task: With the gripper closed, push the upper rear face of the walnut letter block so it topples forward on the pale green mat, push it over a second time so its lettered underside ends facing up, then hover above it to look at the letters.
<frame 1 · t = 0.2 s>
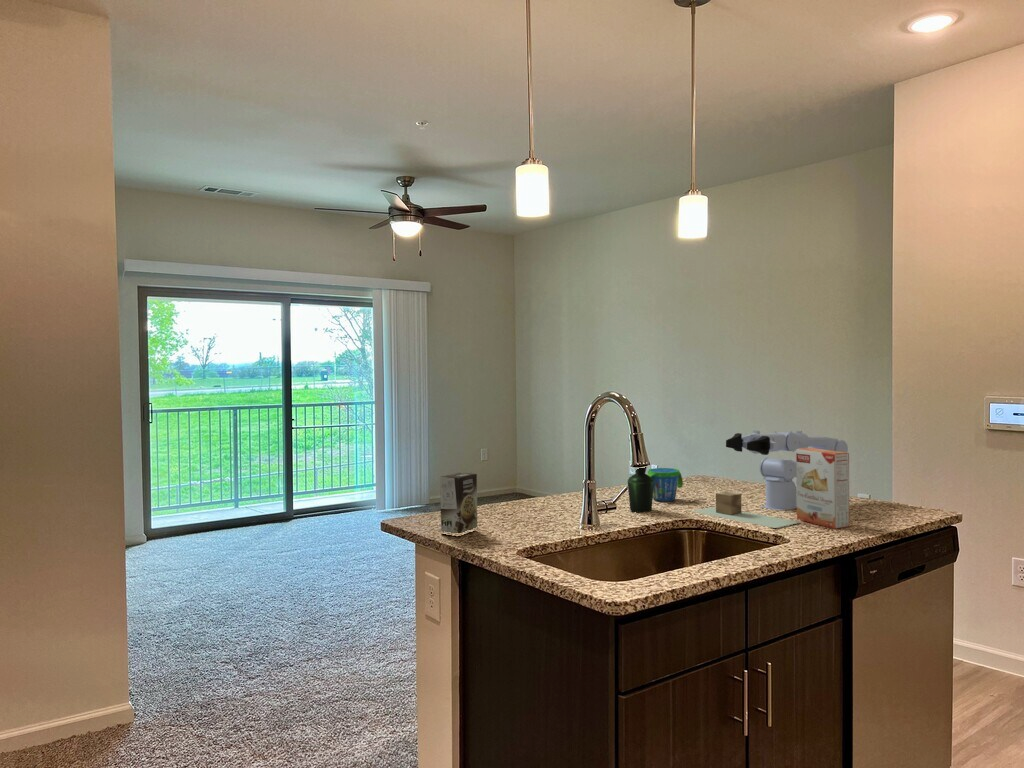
hand: (737, 444, 217), 21 cm above the worktop, tool horizontal, fingers open, 7 cm apart
coffee box: (459, 533, 200), on the worktop
potion bottle: (640, 511, 227), on the worktop
cracker box: (822, 524, 205), on the worktop
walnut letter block: (728, 512, 220), resting on pale green mat
snack cup: (663, 500, 246), on the worktop
pale green mat: (743, 517, 215), on the worktop
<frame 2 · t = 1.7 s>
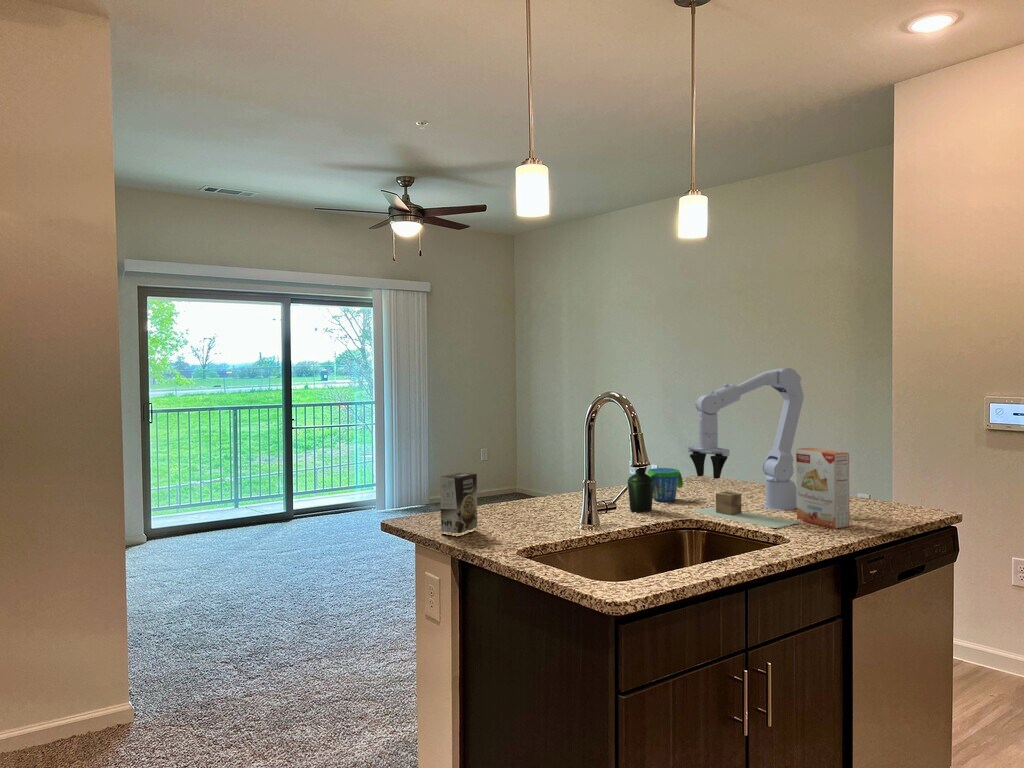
hand: (708, 477, 226), 10 cm above the worktop, tool pointing down, fingers open, 6 cm apart
nothing on the worktop moved.
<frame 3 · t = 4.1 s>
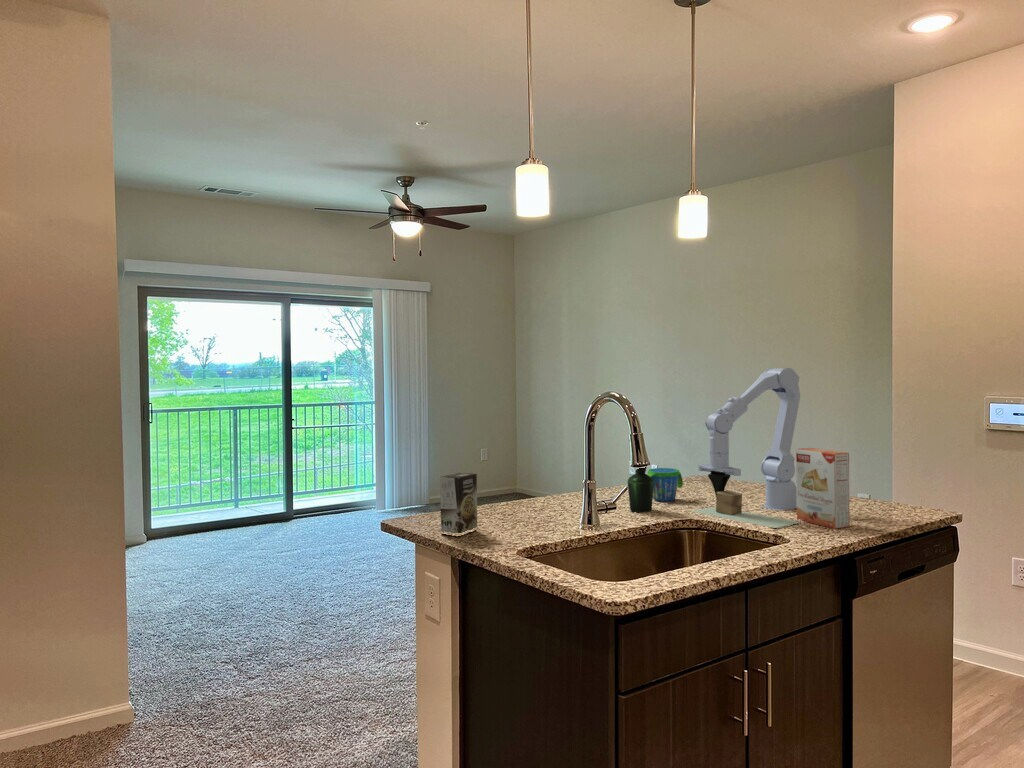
hand: (719, 496, 223), 5 cm above the worktop, tool pointing down, fingers closed
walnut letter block: (728, 512, 220), point 1 cm above the worktop, touching gripper, pale green mat
everything else where it was.
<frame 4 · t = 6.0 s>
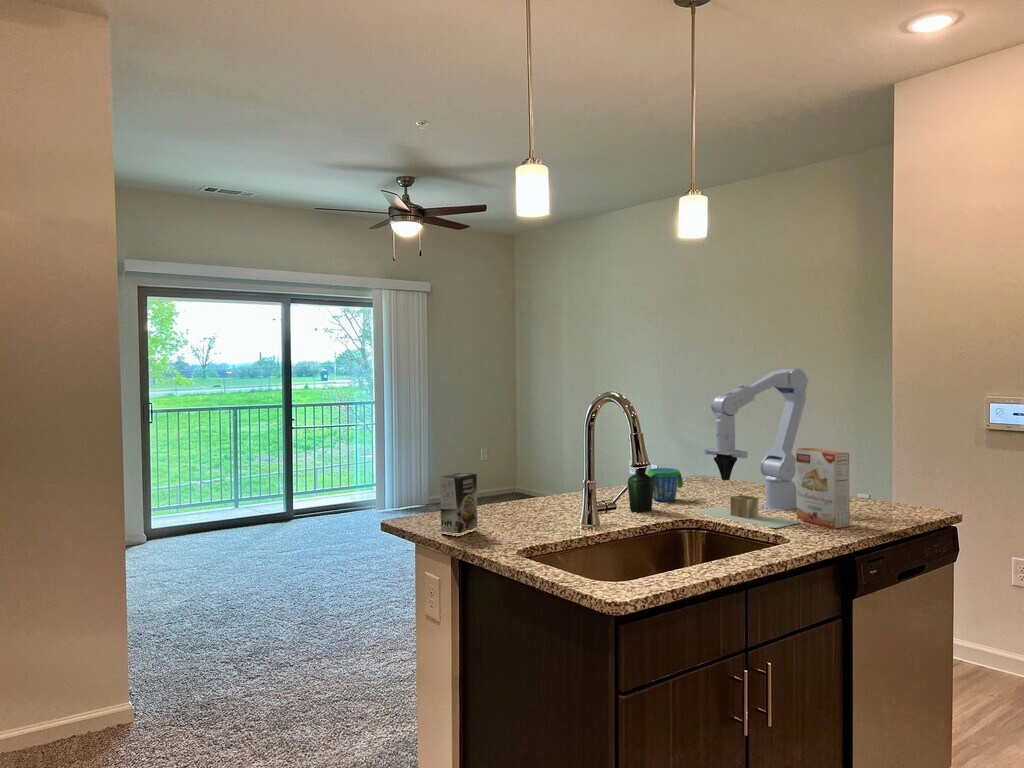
hand: (725, 480, 221), 10 cm above the worktop, tool pointing down, fingers closed
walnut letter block: (736, 505, 218), point 3 cm above the worktop, tilted 90°, touching pale green mat
everything else where it was.
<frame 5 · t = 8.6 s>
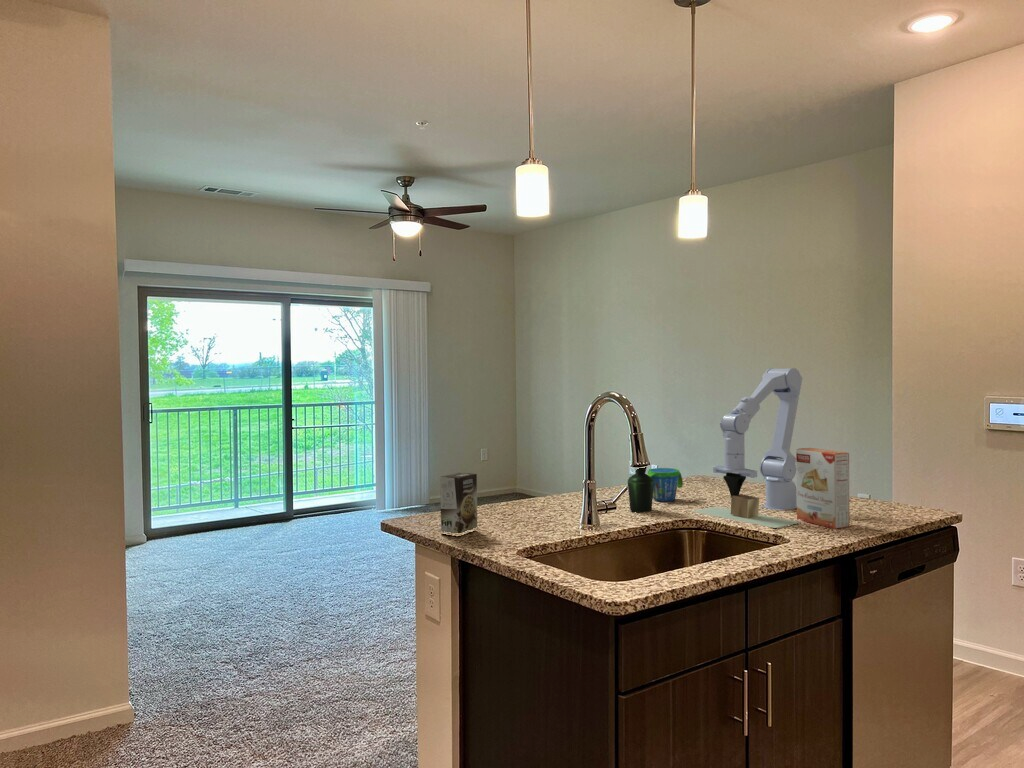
hand: (734, 498, 218), 5 cm above the worktop, tool pointing down, fingers closed, pressing on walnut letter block
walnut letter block: (736, 504, 218), point 3 cm above the worktop, tilted 93°, touching gripper, pale green mat
everything else where it was.
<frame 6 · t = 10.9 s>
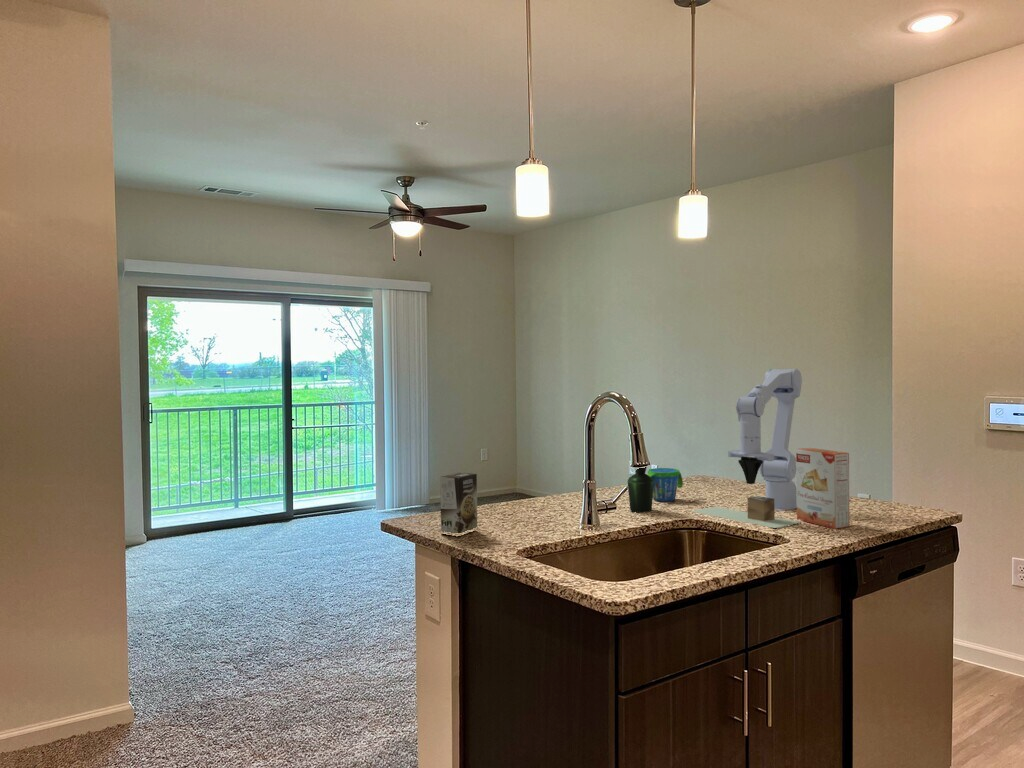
hand: (750, 483, 213), 10 cm above the worktop, tool pointing down, fingers closed
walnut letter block: (760, 498, 211), point 6 cm above the worktop, tilted 180°, touching pale green mat
everything else where it was.
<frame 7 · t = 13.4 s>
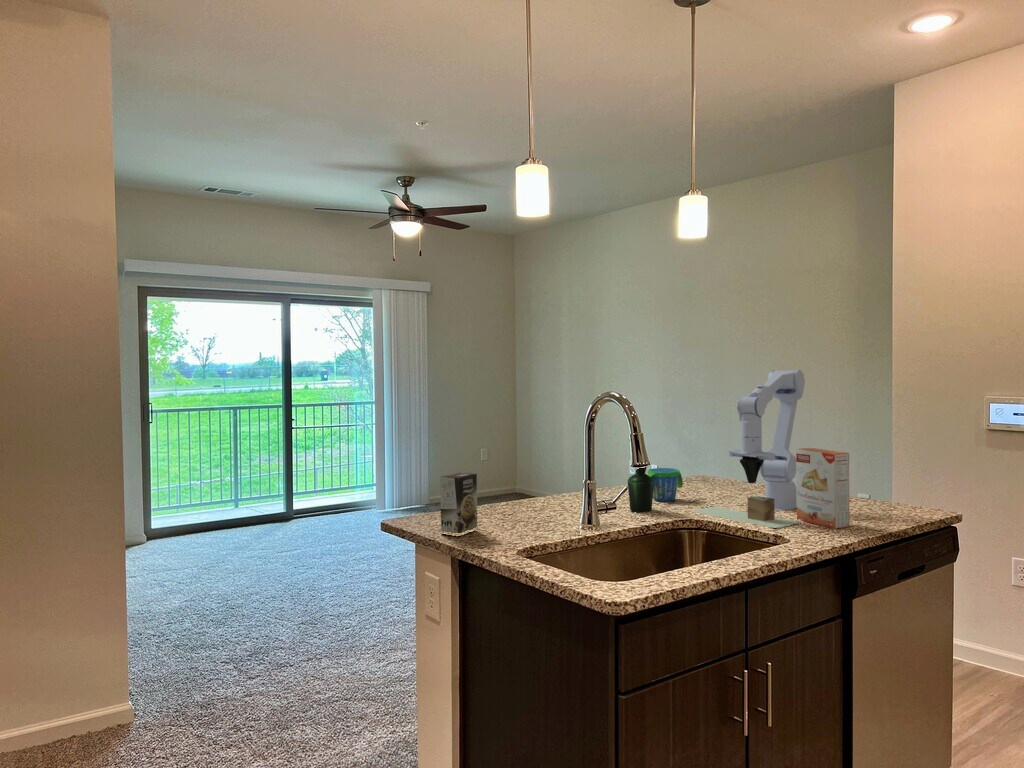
hand: (751, 482, 215), 10 cm above the worktop, tool pointing down, fingers closed
nothing on the worktop moved.
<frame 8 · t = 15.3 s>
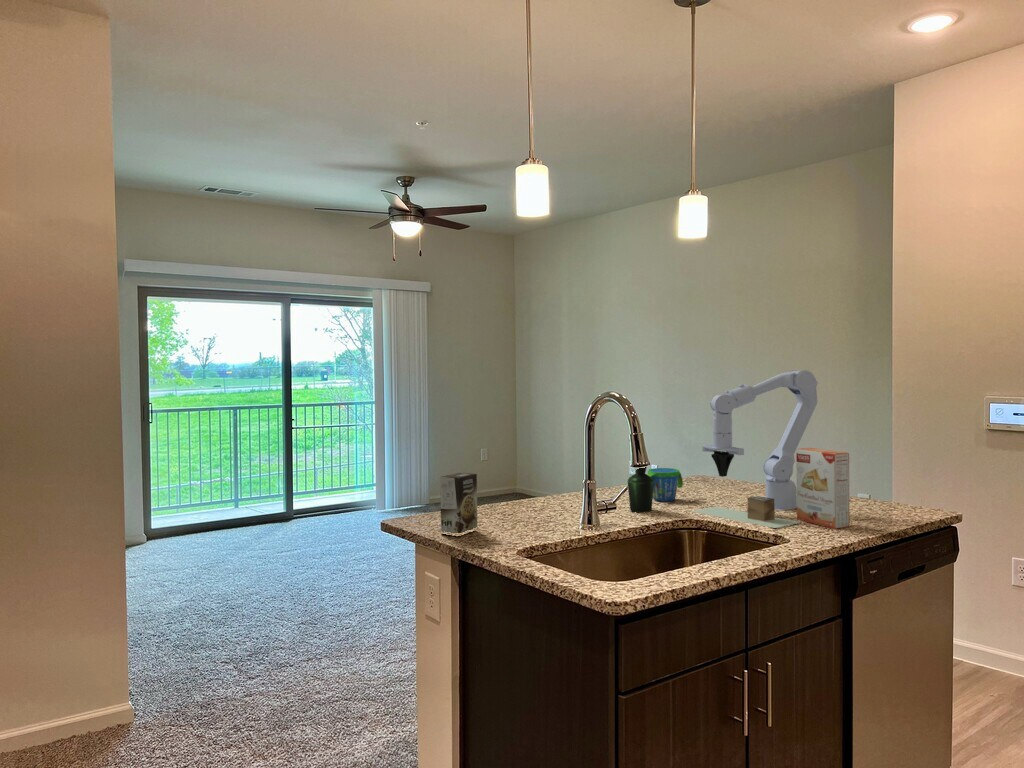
hand: (722, 476, 228), 10 cm above the worktop, tool pointing down, fingers closed
nothing on the worktop moved.
at the end: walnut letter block tilted 180°; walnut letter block inside the target area (2.5 cm from its centre), point 6.4 cm above the worktop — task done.
